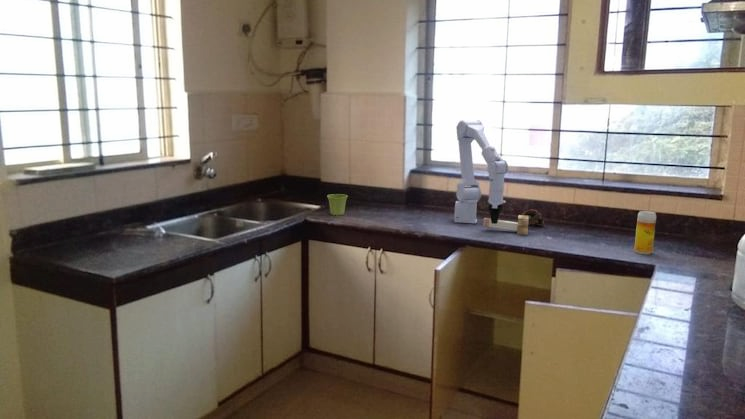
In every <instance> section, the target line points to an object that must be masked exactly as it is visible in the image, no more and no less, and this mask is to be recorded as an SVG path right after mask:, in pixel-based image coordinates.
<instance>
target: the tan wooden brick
mask: <svg viewBox="0 0 745 419" xmlns="http://www.w3.org/2000/svg"><path fill="white" fill-rule="evenodd" d="M528 220H529V218H528V216H526V215H522V214H521V215H520V214H519V215H518V216H517V222H518V231H517V232H516V233H517V235H527V236H528V234H529V233H528V230H529V225H528Z"/></svg>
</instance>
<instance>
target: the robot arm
mask: <svg viewBox="0 0 745 419" xmlns="http://www.w3.org/2000/svg"><path fill="white" fill-rule="evenodd" d="M455 128H456V137H457V142H458V152H459V162H460V173H461V181H459V182H458V183H457V184H456V194H455V195H456V199H457V200H456V201H455V205H454V214H453V217H454V223H460V224H461V223H464V224H465V223H466V224H477V222H478V219H477V204H478V203H477V202H479V200H480V199H481V197H482V190H481V186H480V182H479V181H478V180H476V179H475V176H474V175H475V172H474V164H473V163H474V162H473V152H472V143H473V141H475V142H476V143H477V144H478V146H479V147H480V148H481V150H482V151H481V156H482V158H483V159H484V161H485V163H486V164H487V167H486V168H487V173H488V178H489V188H488V189H489V190H488V200H487V203H488V206H487V208H488V211H489V214H490V219H491V222H492V223H494V224H497V222H498V220H499V218H500V214H501V211H502V209H503V204H506V202H507V201H506V200H504V188H505V186H504V185H505V175H506V174H507V173H508V170H509V167H508V166H509V165H508V163H507V161H506V160H505V159H503V158H501V157H500V155H499V153H498V152H497V150H496V148H495V147H494V146H491V145H490V143H489V141H488V139H487V137H486V135H485V133H484V130H485V129H484V128H485V127H484V125H483V122H482V121H481V120H478V119H477V120H464V119H462V120H459V121H458V123H457V125H456V127H455Z"/></svg>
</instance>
